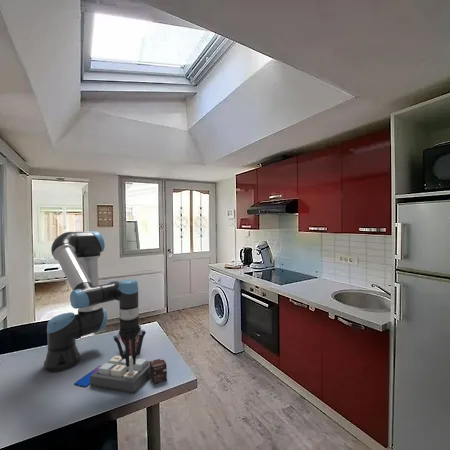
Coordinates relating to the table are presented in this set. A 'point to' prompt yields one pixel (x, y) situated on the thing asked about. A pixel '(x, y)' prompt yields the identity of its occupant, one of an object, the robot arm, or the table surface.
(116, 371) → the key
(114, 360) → the key
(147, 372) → the keypad
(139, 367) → the key
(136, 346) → the mug
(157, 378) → the box
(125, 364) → the key
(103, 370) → the key
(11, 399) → the table surface
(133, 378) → the key
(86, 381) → the smartphone
